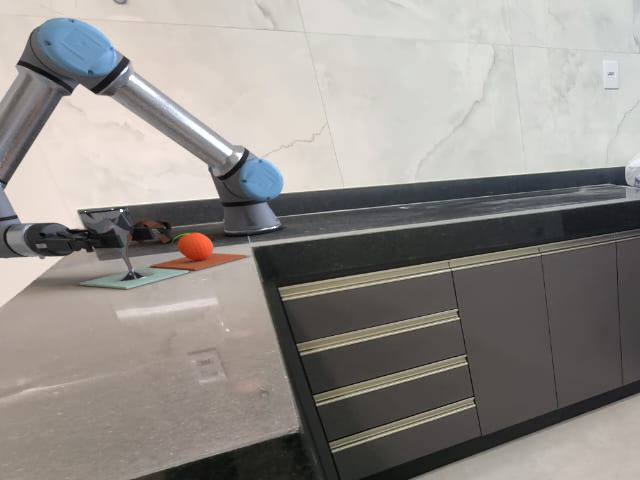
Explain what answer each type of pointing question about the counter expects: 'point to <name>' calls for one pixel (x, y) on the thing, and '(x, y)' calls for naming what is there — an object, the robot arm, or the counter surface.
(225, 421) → the counter surface
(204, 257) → the clementine
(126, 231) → the wine glass
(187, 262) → the fruit mat
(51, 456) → the counter surface
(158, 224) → the brown segmented ring
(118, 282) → the glass mat
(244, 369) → the counter surface
